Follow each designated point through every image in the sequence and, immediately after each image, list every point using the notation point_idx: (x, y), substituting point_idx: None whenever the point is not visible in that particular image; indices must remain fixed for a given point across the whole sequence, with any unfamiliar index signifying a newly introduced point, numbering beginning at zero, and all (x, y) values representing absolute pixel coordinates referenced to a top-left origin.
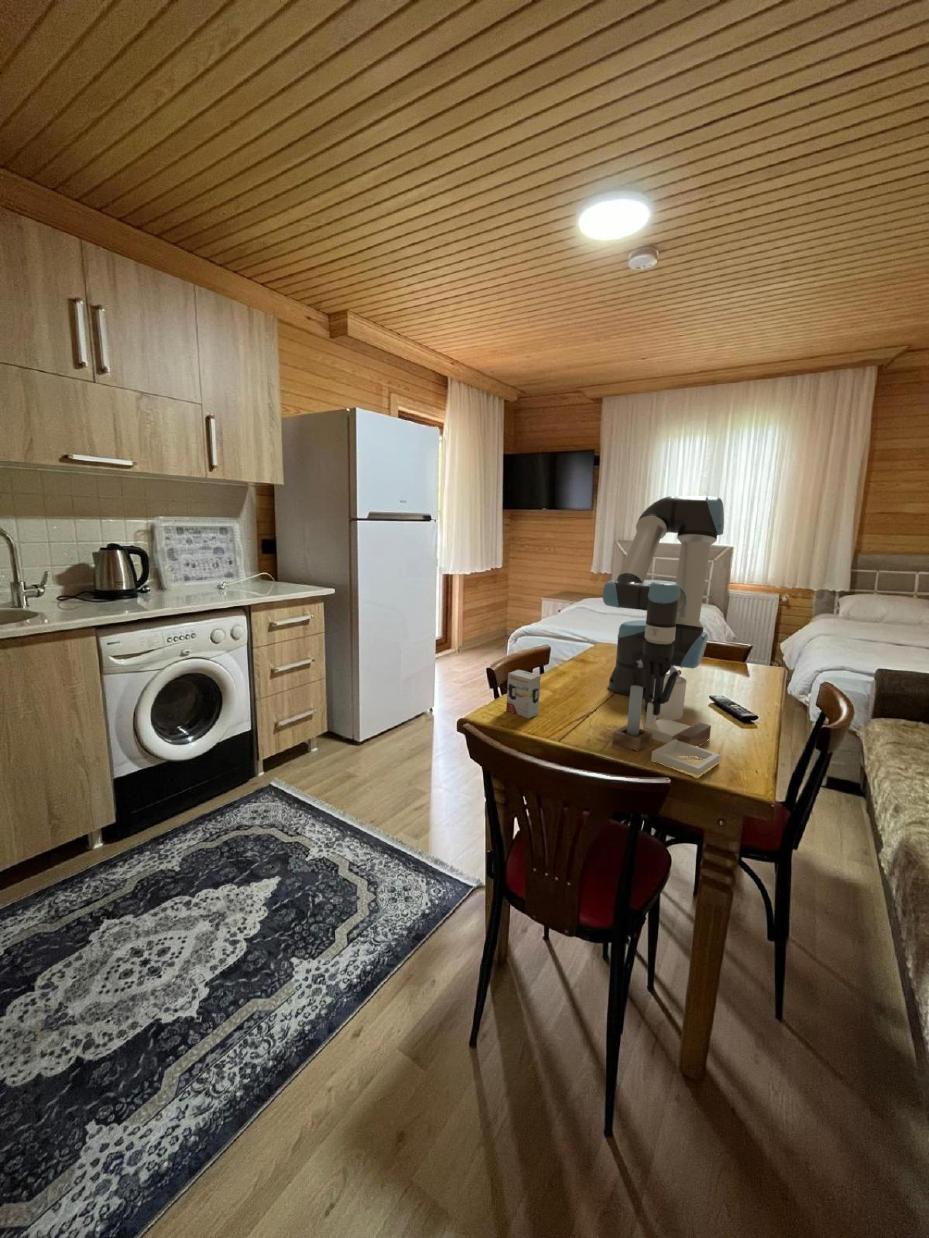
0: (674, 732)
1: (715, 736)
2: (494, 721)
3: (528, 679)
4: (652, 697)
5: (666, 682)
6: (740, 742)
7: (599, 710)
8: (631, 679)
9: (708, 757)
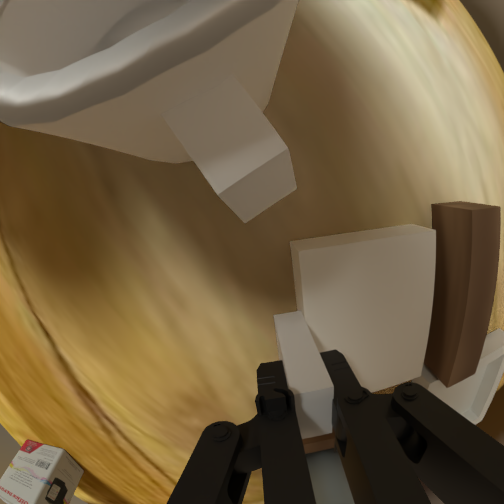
0: (416, 348)
1: (455, 148)
2: (91, 495)
3: None
4: (297, 423)
5: (166, 28)
6: (496, 137)
7: (49, 322)
8: None
9: (497, 374)
